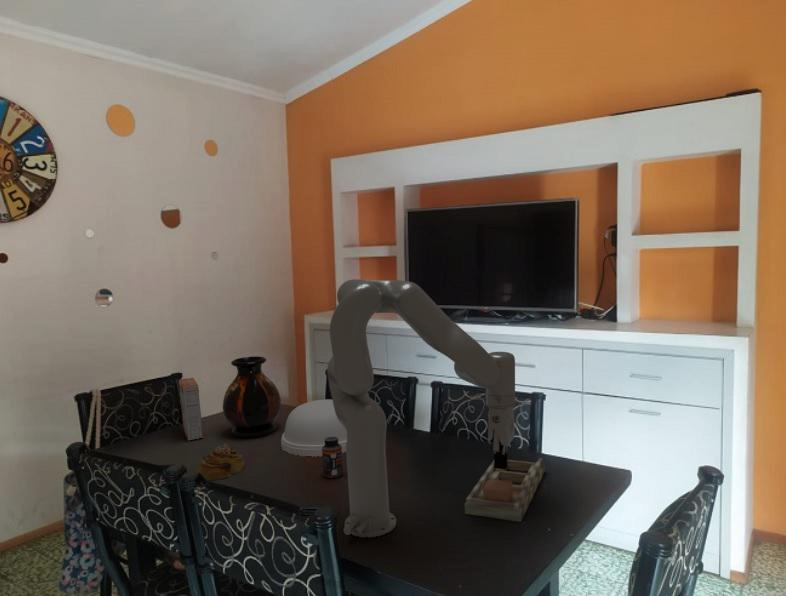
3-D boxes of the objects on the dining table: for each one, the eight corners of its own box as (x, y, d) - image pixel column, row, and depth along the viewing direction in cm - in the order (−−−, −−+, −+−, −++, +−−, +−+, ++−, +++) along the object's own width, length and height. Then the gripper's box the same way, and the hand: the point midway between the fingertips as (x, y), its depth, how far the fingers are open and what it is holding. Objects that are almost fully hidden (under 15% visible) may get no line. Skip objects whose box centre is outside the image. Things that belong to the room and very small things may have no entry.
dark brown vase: (224, 427, 230) (218, 357, 228) (279, 420, 237) (274, 351, 234) (225, 445, 210) (219, 368, 207) (286, 436, 216) (280, 361, 214)
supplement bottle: (340, 479, 173) (337, 442, 172) (320, 478, 175) (318, 441, 173) (345, 471, 179) (343, 435, 178) (327, 471, 180) (324, 435, 179)
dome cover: (265, 442, 211) (262, 404, 210) (335, 422, 230) (332, 387, 229) (310, 465, 186) (307, 422, 185) (385, 441, 205) (382, 402, 204)
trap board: (520, 521, 141) (520, 505, 141) (465, 513, 147) (464, 498, 147) (544, 471, 170) (544, 458, 170) (497, 466, 176) (496, 453, 176)
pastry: (252, 464, 190) (250, 440, 189) (223, 483, 176) (221, 457, 175) (218, 461, 195) (216, 437, 194) (187, 479, 181) (185, 454, 180)
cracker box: (182, 432, 228) (178, 379, 226) (199, 429, 231) (194, 376, 229) (186, 442, 215) (181, 386, 214) (203, 439, 218) (198, 383, 216)
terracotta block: (507, 507, 144) (506, 491, 144) (483, 504, 146) (483, 488, 146) (513, 497, 149) (512, 481, 149) (489, 494, 152) (489, 479, 151)
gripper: (507, 408, 145) (508, 480, 147) (521, 394, 159) (521, 460, 160) (478, 405, 148) (479, 475, 150) (493, 391, 162) (494, 456, 163)
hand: (500, 467), depth 155 cm, fingers closed
